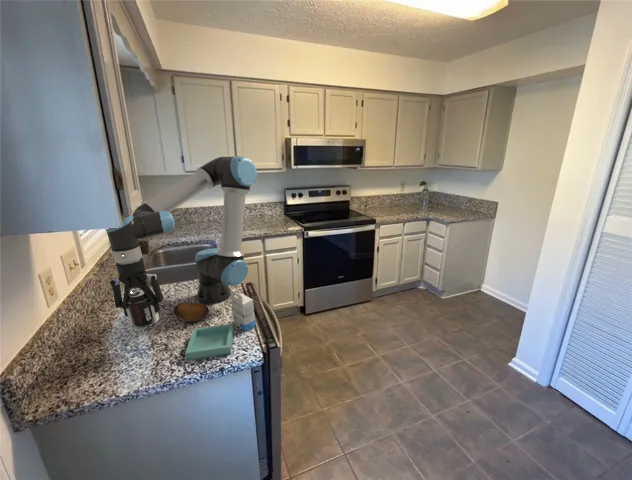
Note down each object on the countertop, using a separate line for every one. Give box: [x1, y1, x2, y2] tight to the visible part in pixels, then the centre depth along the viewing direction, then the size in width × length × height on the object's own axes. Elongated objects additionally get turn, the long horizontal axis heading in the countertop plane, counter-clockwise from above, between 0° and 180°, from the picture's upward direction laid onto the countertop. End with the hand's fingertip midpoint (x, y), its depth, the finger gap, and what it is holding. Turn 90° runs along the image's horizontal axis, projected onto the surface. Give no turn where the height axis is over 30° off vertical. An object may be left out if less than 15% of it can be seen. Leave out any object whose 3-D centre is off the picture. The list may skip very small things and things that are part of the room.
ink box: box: [230, 290, 256, 332], centre depth 112 cm, size 8×5×15 cm, turn 47°
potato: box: [172, 302, 210, 323], centre depth 118 cm, size 8×13×8 cm
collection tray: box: [184, 323, 235, 362], centre depth 103 cm, size 14×14×3 cm
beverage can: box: [127, 288, 154, 328], centre depth 99 cm, size 7×7×12 cm
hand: (145, 321), depth 101 cm, fingers closed on beverage can, 7 cm apart
